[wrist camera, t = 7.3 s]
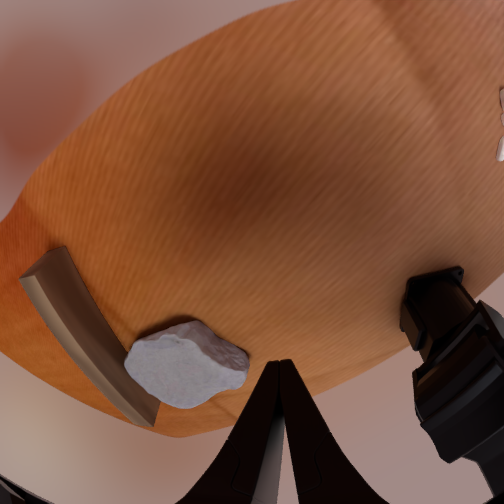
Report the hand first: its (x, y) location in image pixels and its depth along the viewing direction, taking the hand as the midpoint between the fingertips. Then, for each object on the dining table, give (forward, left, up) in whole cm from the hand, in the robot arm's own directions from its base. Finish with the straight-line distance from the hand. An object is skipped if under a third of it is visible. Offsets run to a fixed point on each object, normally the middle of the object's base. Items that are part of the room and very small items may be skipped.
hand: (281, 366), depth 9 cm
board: (+21, +10, -12) cm, 26 cm away
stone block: (+12, +13, -12) cm, 21 cm away
